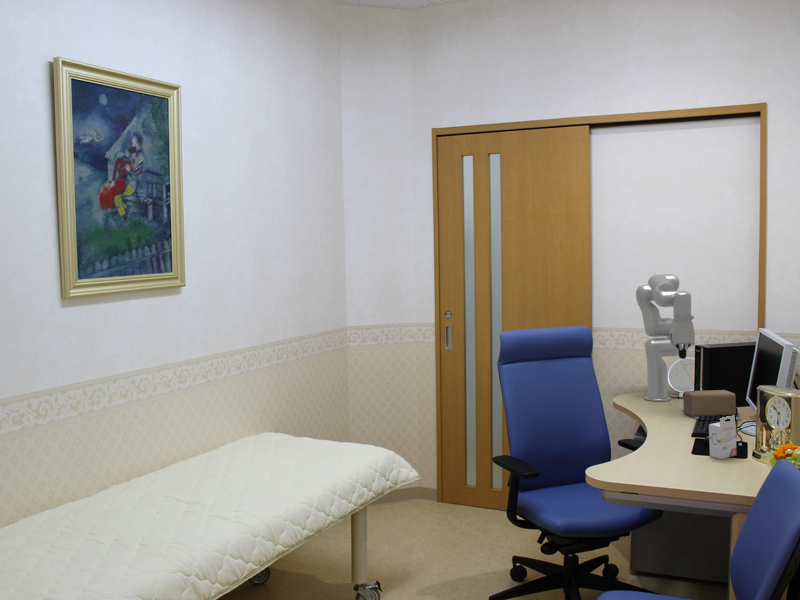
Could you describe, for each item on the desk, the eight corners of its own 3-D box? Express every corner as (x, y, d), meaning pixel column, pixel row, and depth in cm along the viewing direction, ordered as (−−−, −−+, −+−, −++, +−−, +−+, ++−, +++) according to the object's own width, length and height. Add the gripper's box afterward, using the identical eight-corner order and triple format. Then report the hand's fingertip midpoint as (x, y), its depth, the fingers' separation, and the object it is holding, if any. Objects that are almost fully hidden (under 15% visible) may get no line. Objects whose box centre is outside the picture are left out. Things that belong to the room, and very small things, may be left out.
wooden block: (691, 416, 300) (736, 415, 299) (691, 394, 299) (736, 393, 299) (682, 412, 310) (726, 411, 309) (682, 390, 309) (726, 389, 309)
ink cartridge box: (724, 452, 244) (723, 412, 243) (737, 455, 239) (736, 414, 239) (708, 456, 240) (708, 415, 239) (721, 459, 235) (720, 418, 235)
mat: (681, 410, 315) (681, 409, 315) (720, 410, 314) (720, 408, 314) (699, 421, 293) (699, 419, 293) (741, 420, 292) (741, 419, 292)
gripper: (695, 317, 311) (695, 356, 312) (663, 318, 312) (663, 357, 313) (702, 319, 304) (702, 359, 305) (668, 320, 304) (669, 360, 306)
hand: (682, 358), depth 309 cm, fingers closed
